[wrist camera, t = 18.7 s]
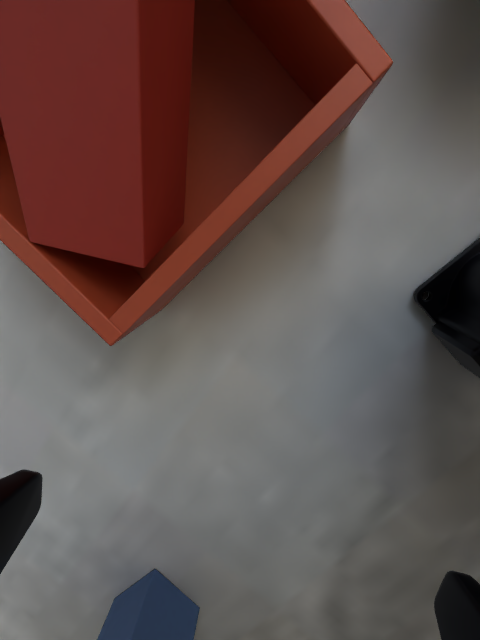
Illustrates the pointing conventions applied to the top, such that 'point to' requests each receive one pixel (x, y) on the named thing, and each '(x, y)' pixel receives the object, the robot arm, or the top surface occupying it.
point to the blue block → (151, 612)
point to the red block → (98, 121)
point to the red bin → (223, 146)
